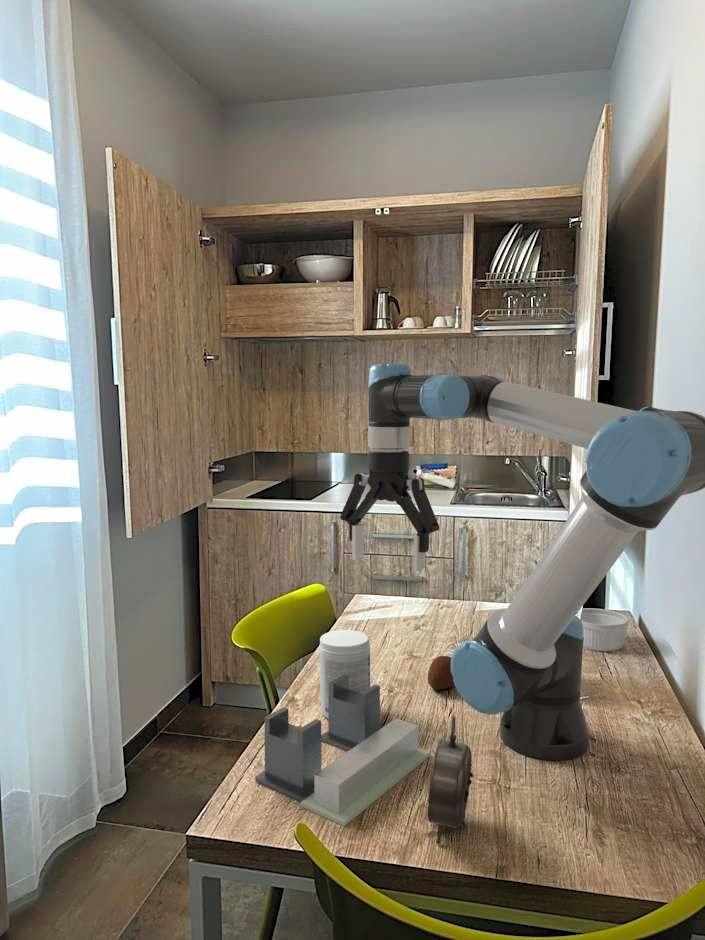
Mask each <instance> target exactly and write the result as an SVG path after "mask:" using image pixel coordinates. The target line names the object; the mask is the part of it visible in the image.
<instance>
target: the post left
mask: <svg viewBox="0 0 705 940" xmlns="http://www.w3.org/2000/svg"><path fill="white" fill-rule="evenodd" d="M321 735H322V720H320V719H317V718H315V719H313V720H311V721H310V722H309V723H307V724H305V725H304V726H301V727H299V726H297V725H294V724H292V723H289V708H287V707H286V706H285V707H284V706H283V707H281V708H279V709H277V710H276V711H274V712H272V713H270V714H268V715H266V716H264V771H261V772H260V773H258V774H257V775H255V777H254V779H255V780H254V781H255V782H256V783H259V784H261V785H263V786H265V787H267V788H270V789H271V790H274V791H275V792H278V793H281V794H282V795H285V796H287V797H289V798H290V799H294V800H296V801H298V802H300V803H301V802H302V801H303V800H305V799H306V798H308V797H309V796H310V795H312V794H313V793H314V775H315V774H316V773H317V772H319V771H320V770H322V741H321Z"/></svg>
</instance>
